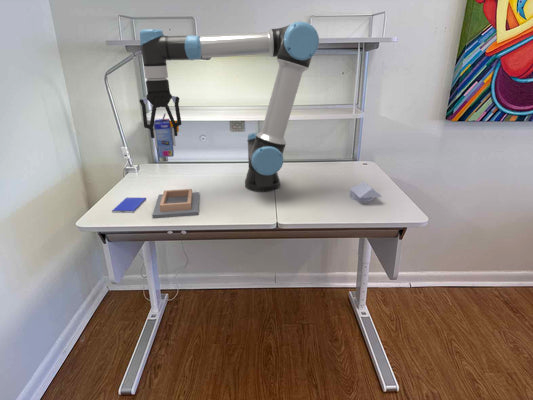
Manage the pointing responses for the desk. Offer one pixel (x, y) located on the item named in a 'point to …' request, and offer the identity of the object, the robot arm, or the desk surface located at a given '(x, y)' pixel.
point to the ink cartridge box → (164, 137)
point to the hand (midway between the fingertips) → (165, 145)
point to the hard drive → (129, 205)
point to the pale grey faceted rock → (363, 192)
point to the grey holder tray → (176, 204)
